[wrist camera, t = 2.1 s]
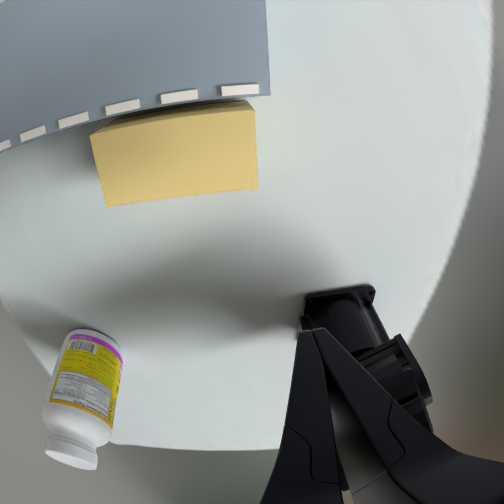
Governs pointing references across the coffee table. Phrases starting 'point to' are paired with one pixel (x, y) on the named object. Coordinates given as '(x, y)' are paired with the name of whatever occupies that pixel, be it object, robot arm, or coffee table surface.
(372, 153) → the coffee table surface
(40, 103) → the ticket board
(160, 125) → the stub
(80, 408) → the supplement bottle
